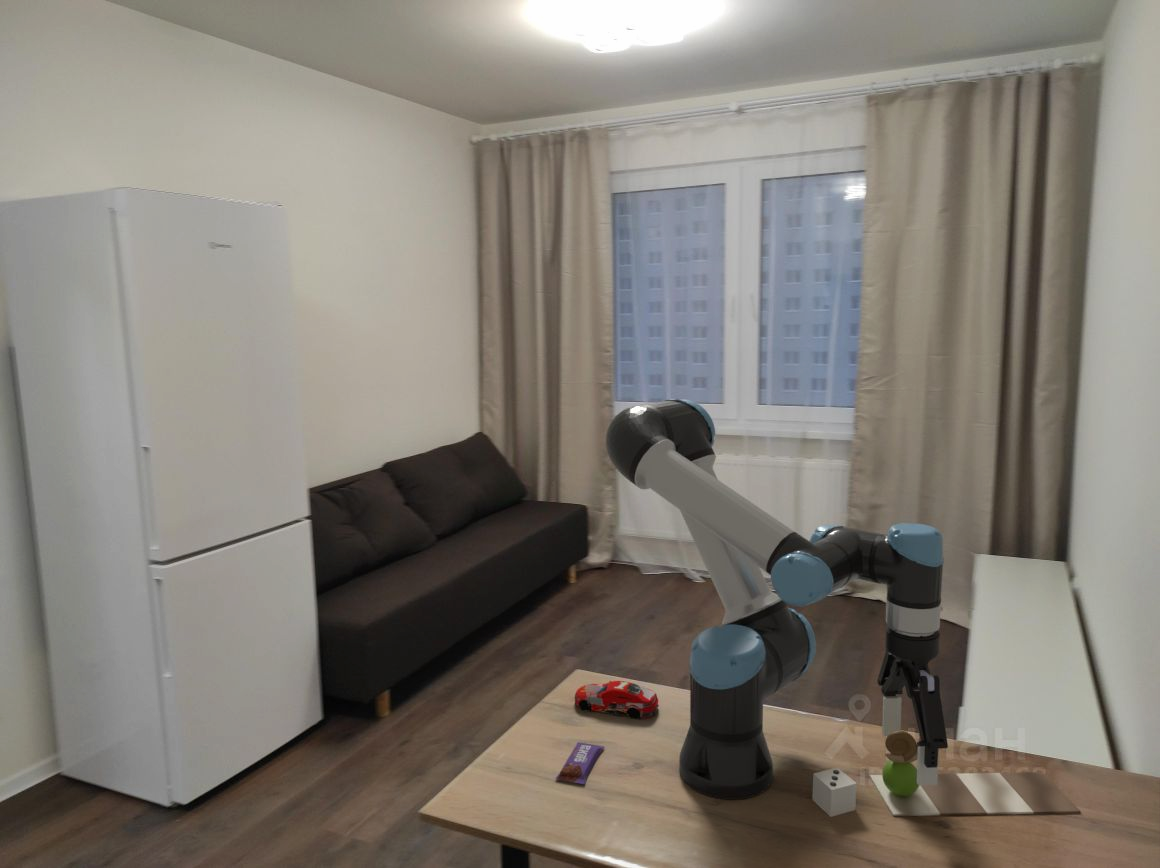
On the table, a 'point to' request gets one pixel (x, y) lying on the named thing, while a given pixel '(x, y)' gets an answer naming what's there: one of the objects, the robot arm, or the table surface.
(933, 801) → the game board
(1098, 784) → the table surface
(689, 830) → the table surface
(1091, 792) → the table surface
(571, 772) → the snack package
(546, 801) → the table surface
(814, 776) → the die
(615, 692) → the race car
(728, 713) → the robot arm
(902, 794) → the snail figurine
